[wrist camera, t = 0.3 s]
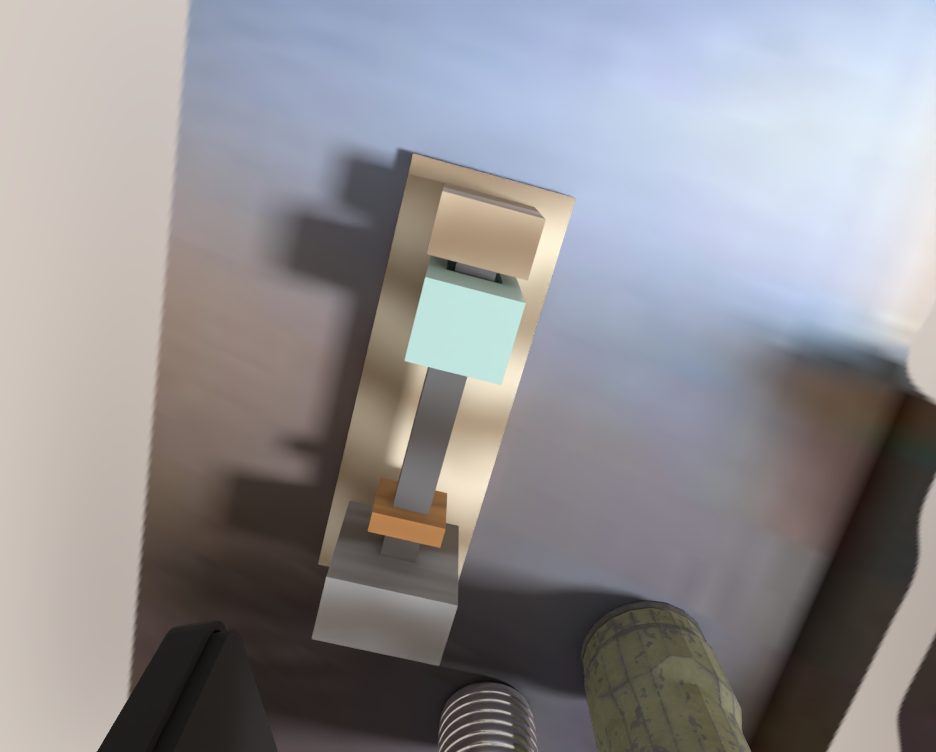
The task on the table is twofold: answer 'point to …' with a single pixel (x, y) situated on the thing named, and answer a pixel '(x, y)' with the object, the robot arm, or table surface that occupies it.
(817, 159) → the table surface
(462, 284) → the mint green boxy block
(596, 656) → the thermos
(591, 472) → the table surface
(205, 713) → the robot arm
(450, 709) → the water bottle
